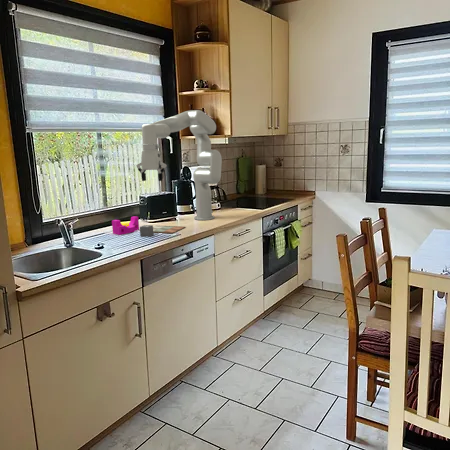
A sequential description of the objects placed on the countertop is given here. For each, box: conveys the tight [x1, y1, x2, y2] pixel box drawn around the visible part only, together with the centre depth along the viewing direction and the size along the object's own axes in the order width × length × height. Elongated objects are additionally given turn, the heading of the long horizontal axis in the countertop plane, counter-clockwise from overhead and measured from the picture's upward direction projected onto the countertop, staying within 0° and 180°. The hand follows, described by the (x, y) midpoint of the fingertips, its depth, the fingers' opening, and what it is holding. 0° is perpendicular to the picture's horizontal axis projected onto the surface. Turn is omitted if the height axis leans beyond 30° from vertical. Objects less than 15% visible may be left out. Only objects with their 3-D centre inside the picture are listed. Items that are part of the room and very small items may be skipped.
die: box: [139, 224, 155, 238], centre depth 223 cm, size 5×5×5 cm
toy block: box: [111, 215, 140, 236], centre depth 234 cm, size 15×6×8 cm, turn 139°
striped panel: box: [153, 225, 187, 235], centre depth 235 cm, size 17×18×1 cm
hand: (152, 180), depth 224 cm, fingers open, 9 cm apart
